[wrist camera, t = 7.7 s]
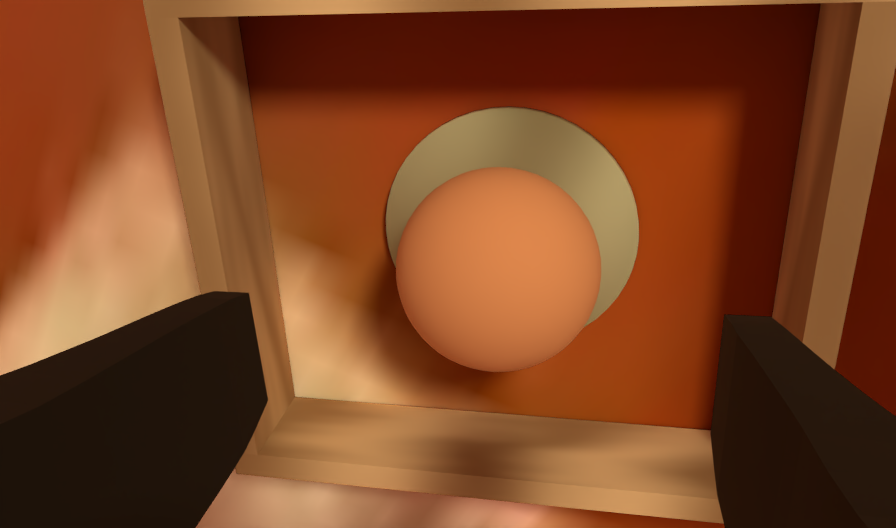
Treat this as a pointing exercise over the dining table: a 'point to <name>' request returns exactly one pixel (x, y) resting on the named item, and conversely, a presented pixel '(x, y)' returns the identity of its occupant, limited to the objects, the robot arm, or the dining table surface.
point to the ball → (498, 269)
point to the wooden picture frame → (582, 177)
